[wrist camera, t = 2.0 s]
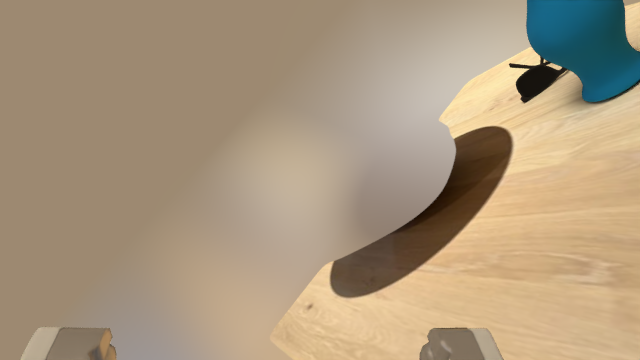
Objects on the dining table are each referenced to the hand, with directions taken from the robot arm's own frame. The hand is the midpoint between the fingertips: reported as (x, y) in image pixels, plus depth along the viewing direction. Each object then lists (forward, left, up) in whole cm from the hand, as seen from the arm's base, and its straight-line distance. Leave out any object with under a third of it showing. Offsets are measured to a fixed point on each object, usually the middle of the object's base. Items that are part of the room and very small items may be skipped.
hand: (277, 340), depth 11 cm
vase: (+60, +32, -28) cm, 73 cm away
